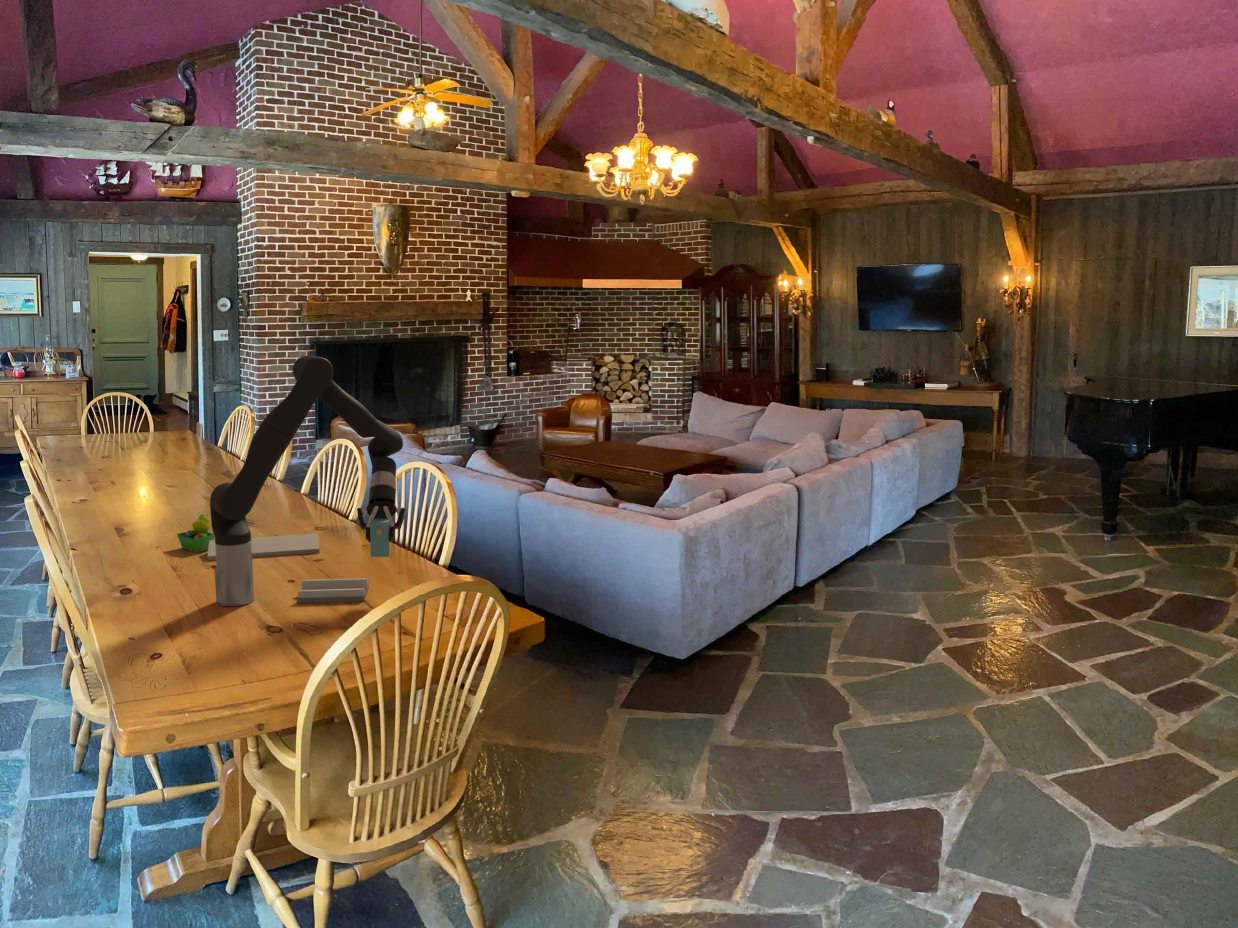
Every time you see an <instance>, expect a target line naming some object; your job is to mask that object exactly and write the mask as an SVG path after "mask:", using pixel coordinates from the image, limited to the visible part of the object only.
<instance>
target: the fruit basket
mask: <svg viewBox="0 0 1238 928" xmlns="http://www.w3.org/2000/svg"><path fill="white" fill-rule="evenodd" d="M210 523H211V518H209V515H208V514H204V513H203V514H200V515H199V517H198V518H197V519H195V520H194V521H193V522H192V524H191V527H192V528H193V529H190V530H187V531H185V532H184V531H183V532H179V533H176V536H177V538H178V541H179V543H180V547H181V548H182V549H183V550H187V551H191V552H194V553H202V552H206V551H207V552H208V548H209V540H215V537H214V533H210V532H209V530H210V528H211V526H210V525H211V524H210Z"/></svg>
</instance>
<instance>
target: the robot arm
mask: <svg viewBox="0 0 1238 928" xmlns="http://www.w3.org/2000/svg"><path fill="white" fill-rule="evenodd" d="M292 375H293V377H294V379H295V384H294V385H293V387H292V389H291V391H290V392H289V393H288V394H287V396H286V397H285V398H284V399H283V400H282V401H281V402H279V404H277V405H276V406H275V407H274V408H273V409H272V410H271V411H269V413H267V415H266V416H265V417H264V418H263V420H262V422H261V423H260V424H259V426H258V428H257V430H256V431H255V433H254V434H253V437H252V438H251V441H250V443H249V446H248V448H247V449H248V450H247V453H246V456H245V457H246V458H245V459H244V463H243V465H242V467H241V469H240V471H239V472H238V474H237V475H236V477H234V480H233V481H232V482H223V483H220V484H219V485H217V486H216V487H215V488H214V489H213V490H212V492H211V494H210V497H209V507H210V508H209V509H210V511H209V512H210V523H211V530H212V534H214V540H215V548H216V560H215V562H216V563H215V564H216V565H215V566H216V567H215V568H214V579H215V581H214V583H215V598H216V600H215V601H216V603H218V604H219V605H220V607H236V606H237V607H238V606H243V605H244V606H245V605H247V604H250V603H252V602H254V600H255V591H254V575H253V574H254V573H253V571H254V570H253V557H252V548H251V538H252V534H251V530H250V528H249V525H248V521H247V515H248V514H249V513H250V512H251V511H252V509H253V507H254V505H255V502H256V501H257V500H258V499H257V498H258V496H259V495H260V493H261V491H262V490H263V489H262V488H263V487H264V484H265V483H266V481H267V479H268V478H269V476H270V474H271V473H272V471H273V470H274V469H275V467H276V466H277V464H278V462H279V461H280V459H281V458H282V456H283V454H284V453H285V452H286V450H287V448H288V447H289V446H290V444H291V442H292V441H293V439H294V438H295V436H296V434H297V432H298V431H299V429H300V427H301V426H302V423H304V420H305V419H306V417H307V415H308V414H309V412H310V410H311V409H312V408H313V406H314V404H315V403H316V402H317V401H318V400H319V398H320V400H322V401H323V403H325V404H326V405H327V406H328V407H329V408H330V409H332V410H333V411H334V412H335V414H337V415H338V416H339V417H340V418H341V419H342V420H343V421H344V422H345V423H346V424H347V425H348V426H349V427H350V428H351V429H352V430H353V431H354V432H355V433H356V434H357V435H358V436H359V437H361V438H363V439H368V438H369V439H370V438H372V439H370V441H369V442H368V444H367V452H368V456H369V459H370V460H369V461H370V462H371V476H370V477H371V478H370V482H369V490H368V491H369V493H368V504H367V506H366V507H365V508H361V507H358V508H357V509H356V511H357V517H358V521H359V526H360V529H361V530H364V531H365V539H366V541H368V543H370V540H371V538H370V522H371V520H373V519H388V520H389V525H390V527H389V537H388V540H389V542H390V543H392V541H393V540H395V531H396V530H401V528H402V526H403V523H404V520H405V518H406V515H407V512H406V508H405V507H401V508H399V507H397V506H396V496H397V481H396V480H397V479H396V478H397V477H396V476H397V462H396V461H395V459H393V458H392V457H391V456H393V455H394V454H397V453H398V452H400V451H401V450H402V449H403V447H404V440H403V438H402V435H401V434H400V433H399V432H398V431H397V430H396V429H395V428H393V427H391V426H390V425H387V424H386V423H385V422H382V421H380V420H379V419H377V418H376V417H375V416H374V415H373V414H372V413H371V412H370V411H369V410H368V408H366V407H365V406H364V405H363V404H362V403H361V402H360V401H358V400H357V399H356V398H354V397H353V396H352V395H350V394H349V393H347V392H346V391H345V390H344V389H343V388H341V387H340V386H339V385H338V384H337V383H336V382H335V381H334V380H333V378H334V366H333V364H332V363H331V362H330V360H328V359H327V358H324V357H322V356H316V355H303V356H300V357H299V358H297V359H296V360H295V361H294V363H293V365H292ZM366 513H367V514H368V516H369V517H368V521H367V523H365V520H364V517H365V516H366ZM396 513H397V514H396ZM395 514H396V515H397V519H396V522H394V521H393V517H394V515H395Z"/></svg>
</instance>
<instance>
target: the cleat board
mask: <svg viewBox="0 0 1238 928" xmlns="http://www.w3.org/2000/svg"><path fill="white" fill-rule="evenodd" d="M369 589H370V584H369V582H368V578H367V577H361V578H360V577H357V578H356V577H355V578H353V577H352V578H325V579H324V578H323V579H316V578H315V579H302V581H301V589H299V590H297V604H319V603H321V604H322V603H324V604H325V603H347V602H348V603H352V602H353V603H355V602H358V603H359V602H365V601H366V597H367V595H368V591H369Z"/></svg>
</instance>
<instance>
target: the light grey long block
mask: <svg viewBox="0 0 1238 928" xmlns="http://www.w3.org/2000/svg"><path fill="white" fill-rule="evenodd" d="M319 540H320V539H319V533H308V534H307V533H306V534H291V535H277V536H275V535H274V536H262V537H261V536H260V537H258V536H257V537H251V548H252V558H261V557H273V556H276V557H277V556H287V555H288V556H289V555H290V556H291V554H292V555H301V554H302V555H303V554H304V555H305V554H315V553H316V554H318V553H319V552H320V541H319ZM319 554H320V553H319ZM207 560H208V561H216V548H215V539H213V540H209V548H208V550H207Z"/></svg>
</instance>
